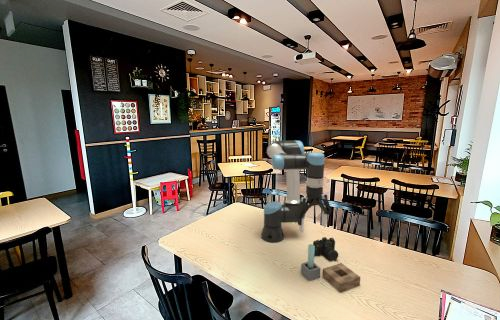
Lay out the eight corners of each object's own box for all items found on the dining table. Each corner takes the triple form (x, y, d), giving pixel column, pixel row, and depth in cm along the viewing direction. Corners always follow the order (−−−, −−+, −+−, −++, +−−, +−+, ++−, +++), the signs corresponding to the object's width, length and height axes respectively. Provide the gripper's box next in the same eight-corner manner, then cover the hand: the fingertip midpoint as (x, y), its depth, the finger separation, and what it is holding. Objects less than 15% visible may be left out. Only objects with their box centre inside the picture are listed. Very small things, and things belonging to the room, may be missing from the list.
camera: (320, 264, 127) (321, 247, 125) (310, 254, 137) (311, 238, 135) (342, 260, 130) (343, 244, 129) (331, 250, 141) (332, 235, 139)
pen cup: (300, 274, 119) (301, 263, 118) (311, 271, 121) (311, 260, 120) (308, 282, 113) (309, 271, 112) (319, 279, 115) (320, 268, 114)
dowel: (305, 274, 118) (307, 245, 115) (310, 272, 119) (312, 243, 116) (309, 277, 115) (311, 248, 112) (314, 276, 116) (316, 246, 113)
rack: (322, 277, 116) (322, 268, 115) (340, 271, 121) (341, 262, 120) (340, 294, 105) (340, 284, 105) (359, 286, 110) (360, 277, 109)
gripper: (296, 191, 101) (295, 237, 104) (341, 185, 110) (338, 227, 114) (287, 186, 107) (286, 230, 111) (329, 181, 117) (327, 221, 121)
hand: (312, 228), depth 112 cm, fingers open, 13 cm apart
